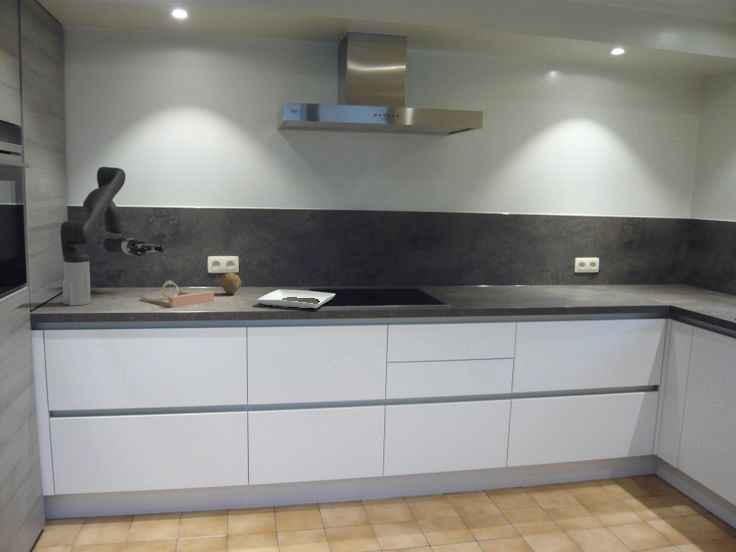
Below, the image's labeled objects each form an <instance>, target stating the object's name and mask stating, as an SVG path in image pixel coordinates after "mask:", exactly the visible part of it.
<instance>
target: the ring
mask: <svg viewBox="0 0 736 552" xmlns="http://www.w3.org/2000/svg"><path fill="white" fill-rule="evenodd" d="M168 285H172V286H174V287H175V288H176V293H175V294H174V296H178V295H179V291H180V288H179V286H178V285H177V284H176V283H175V282H174V281H172V280H169V279H168V280H167V281H165V283H163V285H162V286H161V289H160V290H161V294H162V296H163V297H164V298H166V299H169V297H172V296H171V295H170V296H168V295H166V294H165V292H164V289H165V287H167V286H168Z"/></svg>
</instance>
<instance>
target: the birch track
mask: <svg viewBox="0 0 736 552" xmlns="http://www.w3.org/2000/svg"><path fill="white" fill-rule="evenodd" d="M193 293H194V292H189V291H184V290H179V292H178V296H179V295H186V294H193ZM140 300H141V301H143V302H147V303H152V304H157V305H160V306H163V307H169V301H166V300H162V299H158V298H153V297H149V296H145V295H142V296H140ZM169 308H170V307H169Z"/></svg>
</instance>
